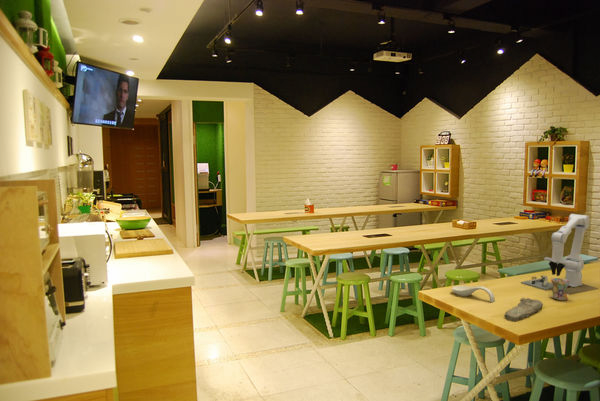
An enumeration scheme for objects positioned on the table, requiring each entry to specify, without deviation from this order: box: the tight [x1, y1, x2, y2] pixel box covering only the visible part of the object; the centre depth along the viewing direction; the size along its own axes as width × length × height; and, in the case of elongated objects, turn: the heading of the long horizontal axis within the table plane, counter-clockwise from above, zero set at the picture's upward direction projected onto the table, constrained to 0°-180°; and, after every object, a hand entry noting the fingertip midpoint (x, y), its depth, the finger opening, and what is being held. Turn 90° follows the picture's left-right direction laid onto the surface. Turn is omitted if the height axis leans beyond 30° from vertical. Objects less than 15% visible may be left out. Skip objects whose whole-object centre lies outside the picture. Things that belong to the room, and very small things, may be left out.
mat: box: [520, 279, 553, 291], centre depth 279 cm, size 15×16×1 cm
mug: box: [550, 277, 570, 301], centre depth 255 cm, size 12×9×11 cm
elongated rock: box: [503, 297, 544, 322], centre depth 232 cm, size 35×5×10 cm
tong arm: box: [540, 275, 549, 286], centre depth 279 cm, size 13×4×3 cm, turn 147°
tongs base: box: [529, 277, 545, 284], centre depth 281 cm, size 12×3×3 cm, turn 119°
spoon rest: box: [451, 285, 496, 304], centre depth 255 cm, size 24×12×7 cm, turn 45°
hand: (555, 275), depth 268 cm, fingers open, 2 cm apart
